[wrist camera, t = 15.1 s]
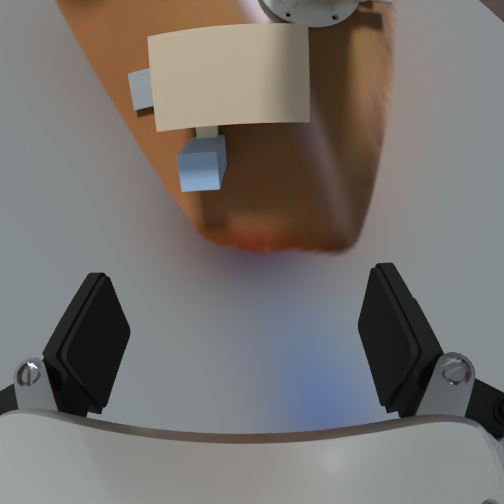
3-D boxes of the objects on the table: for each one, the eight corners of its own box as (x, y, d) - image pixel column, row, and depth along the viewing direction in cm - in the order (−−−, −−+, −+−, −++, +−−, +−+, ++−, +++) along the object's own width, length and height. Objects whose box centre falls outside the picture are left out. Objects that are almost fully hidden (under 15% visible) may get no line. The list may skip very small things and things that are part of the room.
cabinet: (287, 42, 29) (307, 24, 18) (289, 105, 34) (310, 122, 22) (185, 49, 30) (147, 36, 18) (189, 110, 34) (156, 131, 22)
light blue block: (219, 61, 31) (209, 56, 23) (226, 164, 38) (219, 189, 31) (186, 65, 31) (166, 62, 23) (196, 166, 38) (181, 191, 31)
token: (168, 64, 31) (165, 63, 30) (174, 100, 34) (171, 101, 33) (132, 73, 32) (127, 74, 30) (138, 109, 34) (134, 110, 33)
